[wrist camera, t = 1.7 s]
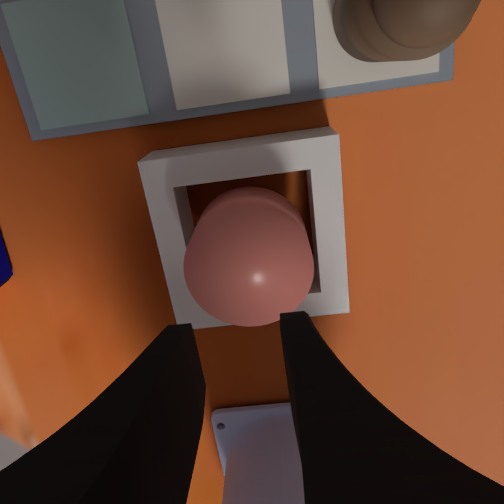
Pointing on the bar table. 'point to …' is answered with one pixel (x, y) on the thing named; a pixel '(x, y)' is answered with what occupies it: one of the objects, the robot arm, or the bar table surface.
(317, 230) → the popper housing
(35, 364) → the bar table surface
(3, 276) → the puzzle cube
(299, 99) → the board
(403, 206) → the bar table surface
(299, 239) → the button
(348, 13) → the pawn
